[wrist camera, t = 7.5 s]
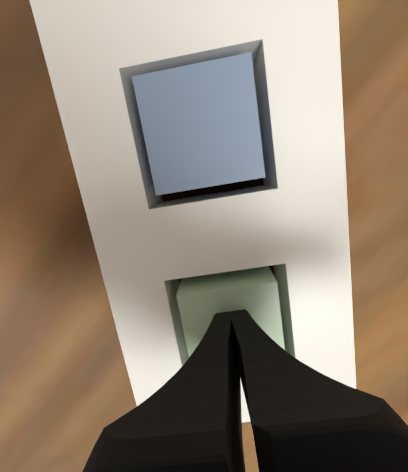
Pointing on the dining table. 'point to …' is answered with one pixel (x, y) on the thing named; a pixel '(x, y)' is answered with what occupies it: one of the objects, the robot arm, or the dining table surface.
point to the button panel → (216, 204)
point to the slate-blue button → (201, 124)
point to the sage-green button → (229, 301)
